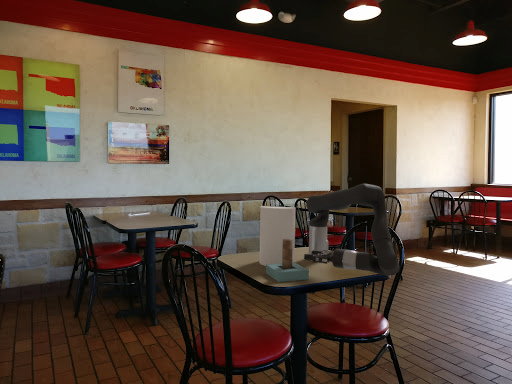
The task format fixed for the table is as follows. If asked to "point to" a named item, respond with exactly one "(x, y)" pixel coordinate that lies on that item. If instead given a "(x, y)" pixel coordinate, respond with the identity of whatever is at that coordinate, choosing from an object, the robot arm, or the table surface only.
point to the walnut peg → (287, 253)
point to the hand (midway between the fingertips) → (308, 254)
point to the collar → (287, 272)
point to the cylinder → (275, 232)
